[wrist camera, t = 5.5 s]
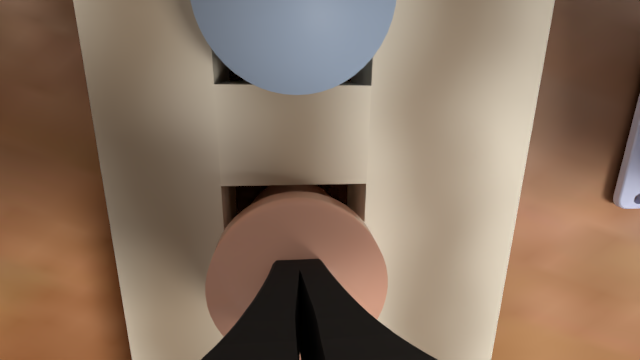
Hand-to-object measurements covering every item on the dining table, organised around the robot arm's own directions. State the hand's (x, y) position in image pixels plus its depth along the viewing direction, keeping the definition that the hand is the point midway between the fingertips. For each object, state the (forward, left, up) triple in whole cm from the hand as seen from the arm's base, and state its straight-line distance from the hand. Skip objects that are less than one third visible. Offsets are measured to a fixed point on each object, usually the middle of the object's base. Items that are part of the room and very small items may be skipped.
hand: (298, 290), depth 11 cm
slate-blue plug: (0, -8, -6) cm, 10 cm away
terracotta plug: (0, 0, -5) cm, 5 cm away
